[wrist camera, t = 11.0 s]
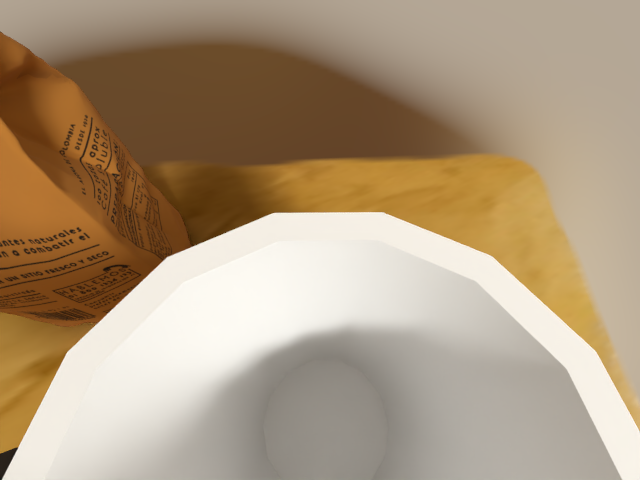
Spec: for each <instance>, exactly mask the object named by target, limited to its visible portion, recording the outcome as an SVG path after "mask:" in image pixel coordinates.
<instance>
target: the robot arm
mask: <svg viewBox="0 0 640 480" xmlns="http://www.w3.org/2000/svg"><path fill="white" fill-rule="evenodd" d="M17 449H18V448H14V449H12V450H9V451H6V452H4V453H1V454H0V480H2V479H3V477H4V475H5V473H6V471H7V469H8V467H9V465H10V463H11V461H12V459H13V457H14V455H15V453H16V451H17Z"/></svg>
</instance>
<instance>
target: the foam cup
mask: <svg viewBox="0 0 640 480" xmlns="http://www.w3.org/2000/svg"><path fill="white" fill-rule="evenodd" d="M2 480H640V431H639V430H638V428H637V426H636V424H635V422H634V420H633V419H632V417H631V415H630V413H629V411H628V409H627V408H626V406H625V404H624V402H623V400H622V398H621V397H620V395H619V393H618V391H617V389H616V387H615V386H614V384H613V382H612V380H611V378H610V376H609V375H608V373H607V371H606V369H605V367H604V365H603V364H602V362H601V360H600V358H599V356H598V355H597V353H596V351H595V350H594V349H593V348H592V347H590V346H589V345H588V344H587V343H586V342H585V341H584V340H583V339H582V338H581V337H580V336H578V335H577V334H576V333H575V332H574V331H573V330H572V329H571V328H570V327H569V326H568V325H566V324H565V323H564V322H563V321H562V320H561V319H560V318H559V317H558V316H557V315H555V314H554V313H553V312H552V311H551V310H550V309H549V308H548V307H547V306H546V305H545V304H543V303H542V302H541V301H540V300H539V299H538V298H537V297H536V296H535V295H534V294H533V293H531V292H530V291H529V290H528V289H527V288H526V287H525V286H524V285H523V284H522V283H520V282H519V281H518V280H517V279H516V278H515V277H514V276H513V275H512V274H511V273H510V272H508V271H507V270H506V269H505V268H504V267H503V266H502V265H501V264H500V263H499V262H498V261H496V260H495V259H494V258H493V257H492V256H490V255H488V254H485V253H483V252H480V251H478V250H475V249H473V248H470V247H468V246H465V245H463V244H460V243H458V242H455V241H453V240H450V239H448V238H445V237H443V236H440V235H438V234H435V233H433V232H430V231H428V230H425V229H423V228H420V227H418V226H415V225H413V224H410V223H408V222H405V221H403V220H400V219H398V218H395V217H393V216H390V215H388V214H385V213H383V212H362V213H272V214H270V215H268V216H265V217H263V218H260V219H258V220H256V221H253V222H251V223H248V224H246V225H244V226H241V227H239V228H236V229H234V230H232V231H229V232H227V233H224V234H222V235H220V236H217V237H215V238H212V239H210V240H208V241H205V242H203V243H200V244H198V245H196V246H193V247H191V248H188V249H186V250H184V251H181V252H179V253H176V254H174V255H172V256H169V257H167V258H166V259H165V260H164V261H163V262H162V263H161V264H160V265H159V266H157V267H156V268H155V269H154V270H153V271H152V272H151V273H150V274H149V275H148V276H147V277H146V278H145V279H144V280H143V281H142V282H141V283H140V284H139V285H137V286H136V287H135V288H134V289H133V290H132V291H131V292H130V293H129V294H128V295H127V296H126V297H125V298H124V299H123V300H122V301H121V302H120V303H119V304H118V305H116V306H115V307H114V308H113V309H112V310H111V311H110V312H109V313H108V314H107V315H106V316H105V317H104V318H103V319H102V320H101V321H100V322H99V323H98V324H96V325H95V326H94V327H93V328H92V329H91V330H90V331H89V332H88V333H87V334H86V335H85V336H84V337H83V338H82V339H81V340H80V341H79V342H78V343H77V344H75V345H74V346H73V347H72V348H71V349H70V350H69V351H68V352H67V354H66V356H65V358H64V360H63V362H62V364H61V366H60V368H59V369H58V371H57V373H56V375H55V377H54V379H53V381H52V383H51V385H50V387H49V389H48V391H47V393H46V395H45V397H44V399H43V401H42V403H41V405H40V406H39V408H38V410H37V412H36V414H35V416H34V418H33V420H32V422H31V424H30V426H29V428H28V430H27V432H26V434H25V436H24V438H23V440H22V442H21V443H20V445H19V447H18V449H17V451H16V453H15V455H14V457H13V459H12V461H11V463H10V465H9V467H8V469H7V471H6V473H5V475H4V477H3V479H2Z"/></svg>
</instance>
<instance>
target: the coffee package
mask: <svg viewBox="0 0 640 480" xmlns="http://www.w3.org/2000/svg"><path fill="white" fill-rule="evenodd" d="M188 248H191V243H190V241H189V239H188V233H187V230H186V227H185V224H184V222H183V220H182V217H181V214H180V213H179V212H178V211H177V210H176V209H175V208H174V207H173V206H172V205H171V204H170V203H169V202H168V201H167V199H166V198H165V197H164V196H163V194H162V193H161V192H160V191H159V190H158V189H157V188H156V187H155V186H154V185H153V184H152V183H151V182H150V181H149V180H148V179H147V178H146V176H145V174H144V172H143V169H142V167H141V166H140V165H139V164H138V163H137V162H136V161H135V160H134V159H133V158H132V156H131V155H130V153H129V151H128V149H127V148H126V147H125V145H124V144H123V143H122V142H121V141H120V139H119V138H118V137H117V136H116V134H115V133H114V132H113V131H112V130H111V129H110V128H109V126H108V125H107V124H106V123H105V122H104V121H103V119H102V117H101V115H100V114H99V112H98V111H97V109H96V108H95V107H94V106H93V104H92V103H91V102H90V100H89V99H88V98H87V97H86V95H85V94H84V92H83V91H82V90H81V88H80V87H79V86H78V85H77V84H76V83H75V82H73V80H71V79H69V78H67V77H65V76H64V75H62V74H61V73H60V72H59V71H58V70H57V69H55V68H53V67H51V66H49V65H48V64H47V63H46V62H44V60H42V59H41V58H39V57H37V56H35V55H34V54H33V53H32V52H31V51H30V50H29V49H28V48H26V47H25V46H23V45H21V44H20V43H18V42H17V41H15V40H13V39H12V38H10V37H8V36H6V35H4V34H3V33H2V32H0V312H4V313H8V314H15V315H19V316H22V317H26V318H29V319H32V320H37V321H42V322H47V323H51V324H54V325H57V326H63V327H69V326H76V325H79V324H82V323H85V322H91V323H99V322H100V321H101V320H102V319H103V318H104V317H105V316H106V315H107V314H108V313H109V312H110V311H111V310H112V309H113V308H114V307H115V306H116V305H118V304H119V303H120V302H121V301H122V300H123V299H124V298H125V297H126V296H127V295H128V294H129V293H130V292H131V291H132V290H133V289H134V288H135V287H136V286H137V285H139V284H140V283H141V282H142V281H143V280H144V279H145V278H146V277H147V276H148V275H149V274H150V273H151V272H152V271H153V270H154V269H155V268H156V267H157V266H159V265H160V264H161V263H162V262H163V261H164V260H165V259H166V258H167V257H169V256H172V255H174V254H176V253H179V252H181V251H184V250H186V249H188Z"/></svg>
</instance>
